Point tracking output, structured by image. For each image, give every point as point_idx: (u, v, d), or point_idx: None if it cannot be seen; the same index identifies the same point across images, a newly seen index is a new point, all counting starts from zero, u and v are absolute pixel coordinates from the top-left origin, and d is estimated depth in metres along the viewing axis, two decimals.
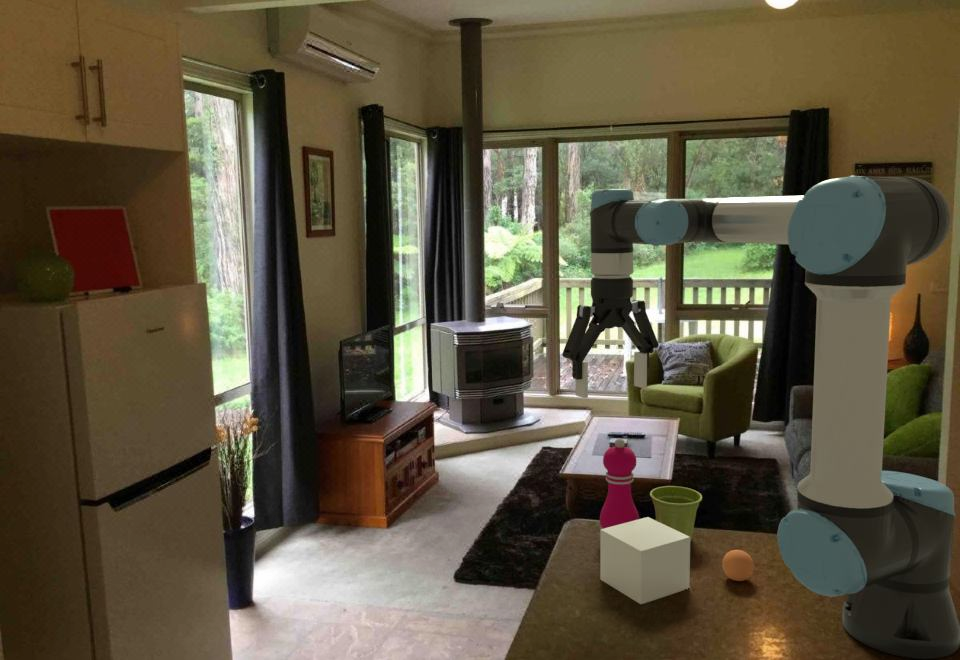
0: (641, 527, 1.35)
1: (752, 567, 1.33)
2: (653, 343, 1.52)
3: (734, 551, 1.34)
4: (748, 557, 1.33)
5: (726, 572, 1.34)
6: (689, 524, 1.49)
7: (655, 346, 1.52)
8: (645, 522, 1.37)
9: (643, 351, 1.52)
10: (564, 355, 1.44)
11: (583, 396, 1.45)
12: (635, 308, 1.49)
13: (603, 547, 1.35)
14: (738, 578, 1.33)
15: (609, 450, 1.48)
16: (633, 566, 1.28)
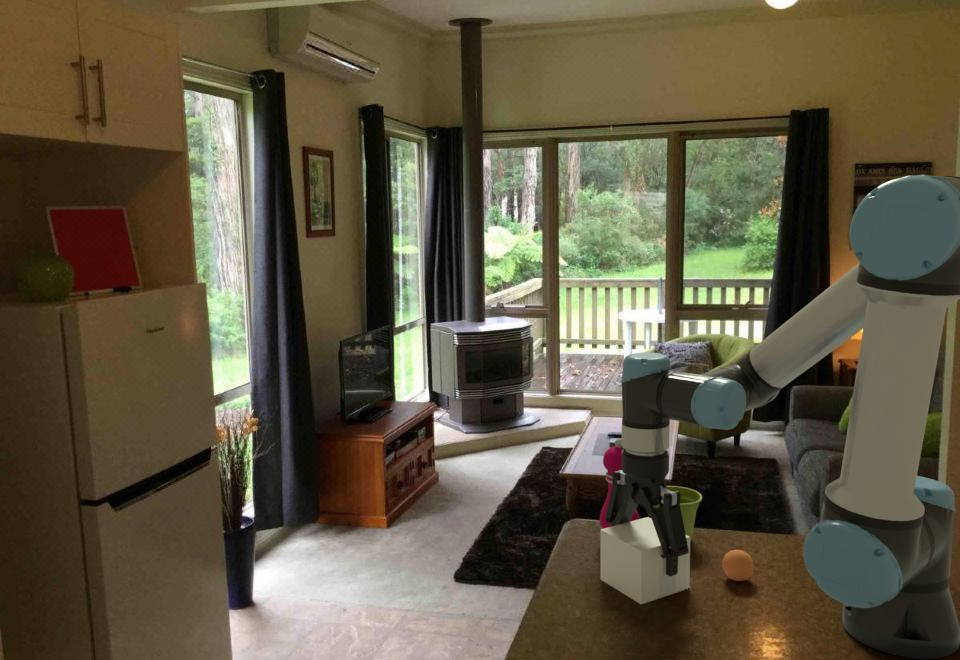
0: (641, 527, 1.35)
1: (752, 567, 1.33)
2: (671, 549, 1.26)
3: (734, 551, 1.34)
4: (748, 557, 1.33)
5: (726, 572, 1.34)
6: (689, 524, 1.49)
7: (673, 554, 1.26)
8: (645, 522, 1.37)
9: None
10: None
11: None
12: None
13: (603, 547, 1.35)
14: (738, 578, 1.33)
15: (609, 450, 1.48)
16: (633, 566, 1.28)
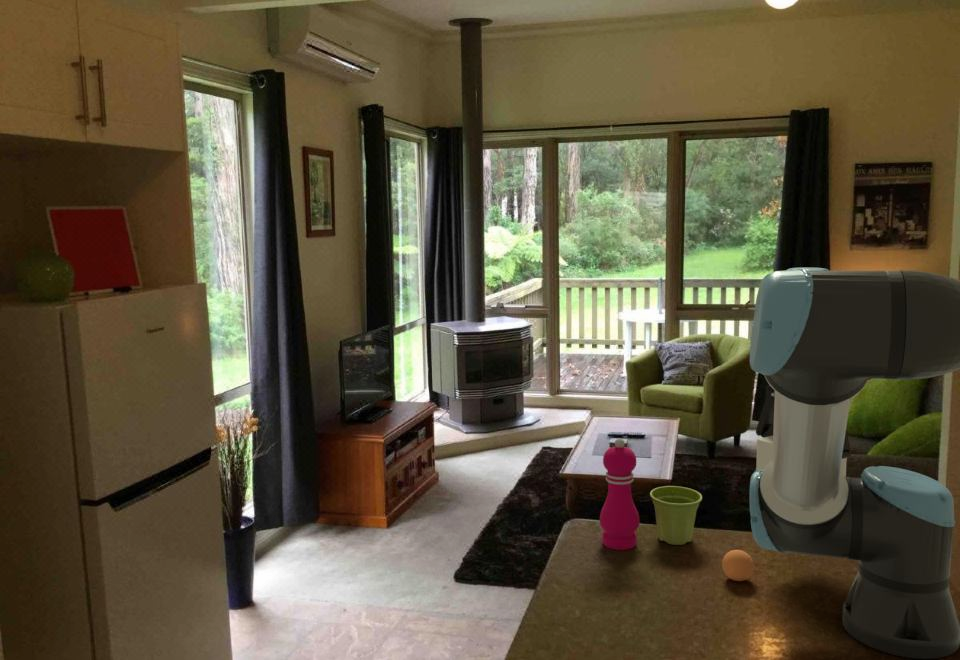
0: None
1: (752, 567, 1.33)
2: None
3: (734, 551, 1.34)
4: (748, 557, 1.33)
5: (726, 572, 1.34)
6: (689, 524, 1.49)
7: None
8: None
9: None
10: None
11: None
12: None
13: (759, 456, 1.41)
14: (738, 578, 1.33)
15: (609, 450, 1.48)
16: None
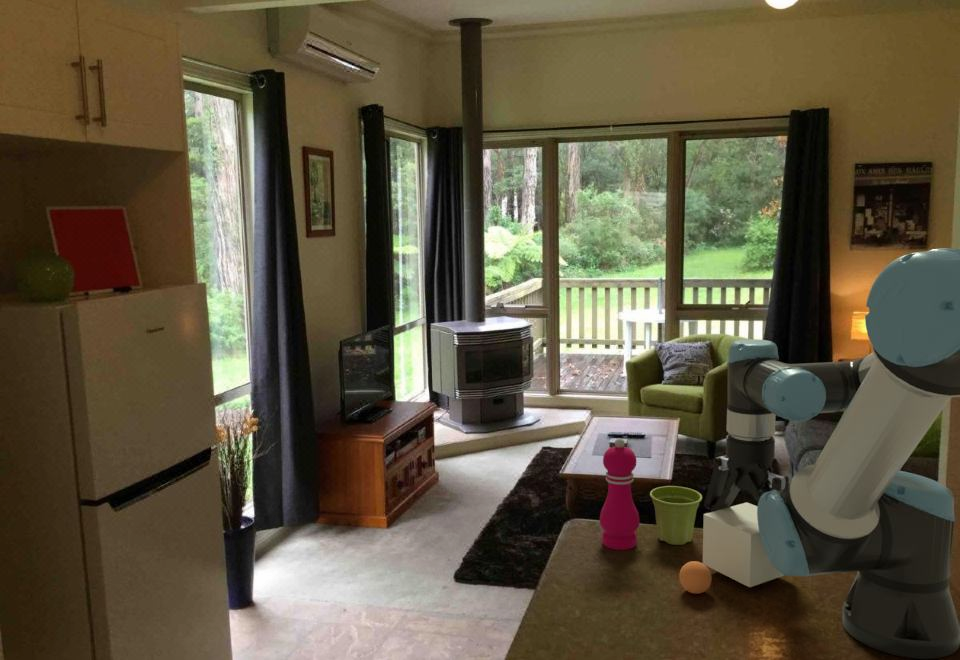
0: (743, 512, 1.37)
1: (700, 588, 1.28)
2: None
3: None
4: (701, 592, 1.30)
5: None
6: (689, 524, 1.49)
7: None
8: (746, 507, 1.39)
9: None
10: None
11: None
12: (772, 482, 1.29)
13: (706, 532, 1.36)
14: (705, 569, 1.29)
15: (609, 450, 1.48)
16: (741, 550, 1.30)
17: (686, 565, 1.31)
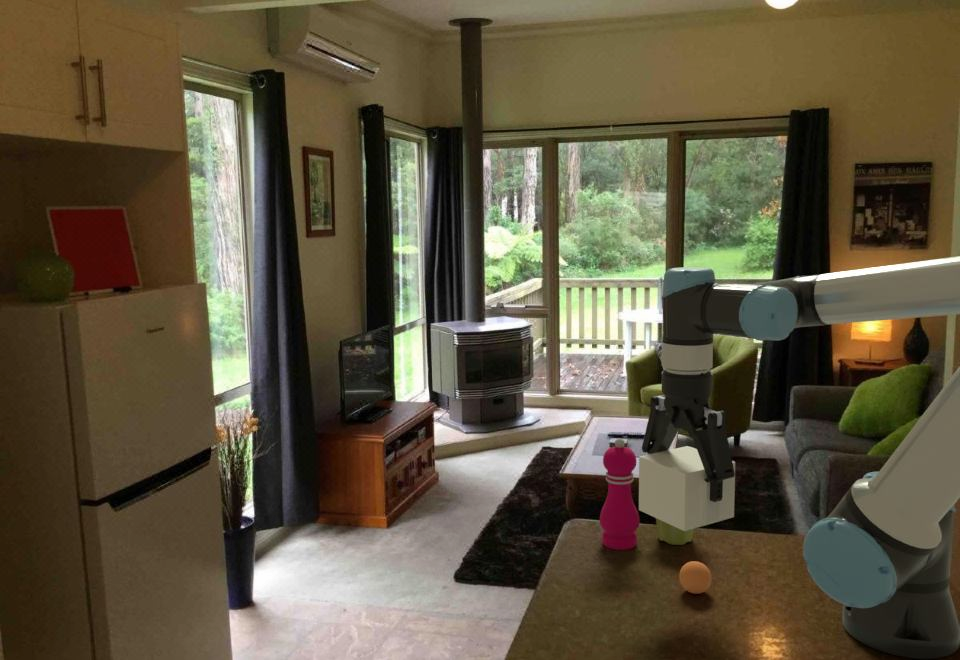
0: (682, 454, 1.28)
1: (700, 588, 1.28)
2: (716, 472, 1.19)
3: None
4: (701, 592, 1.30)
5: None
6: None
7: (718, 477, 1.18)
8: (685, 450, 1.30)
9: None
10: None
11: None
12: (708, 418, 1.20)
13: (642, 475, 1.28)
14: (705, 569, 1.29)
15: (609, 450, 1.48)
16: (676, 491, 1.21)
17: (686, 565, 1.31)
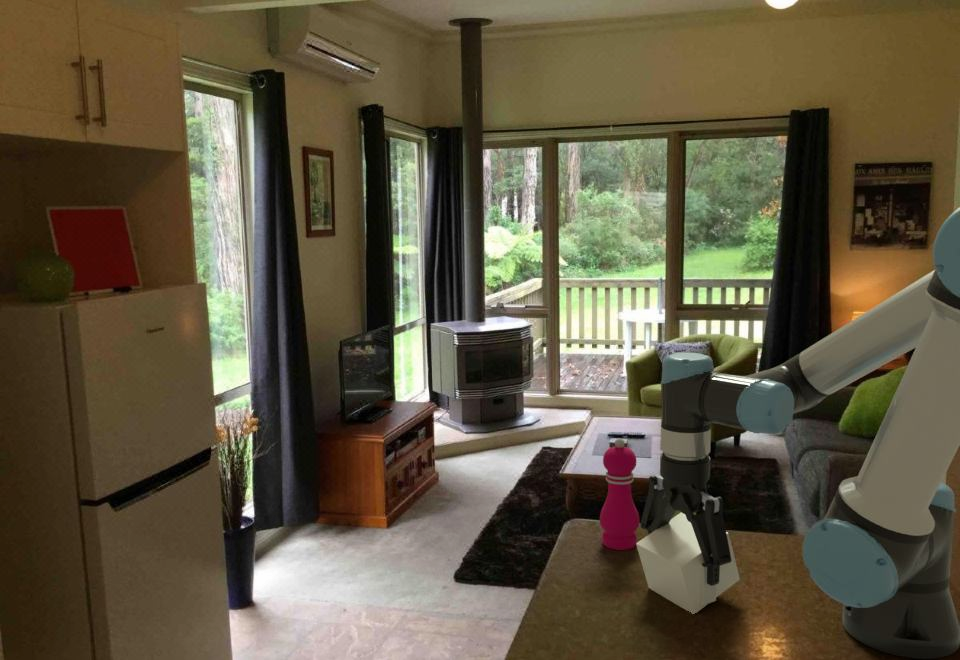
0: (677, 530, 1.30)
1: None
2: (713, 557, 1.21)
3: None
4: None
5: None
6: None
7: (715, 563, 1.21)
8: (680, 521, 1.32)
9: None
10: None
11: None
12: None
13: (643, 560, 1.30)
14: None
15: (609, 450, 1.48)
16: (677, 580, 1.24)
17: None
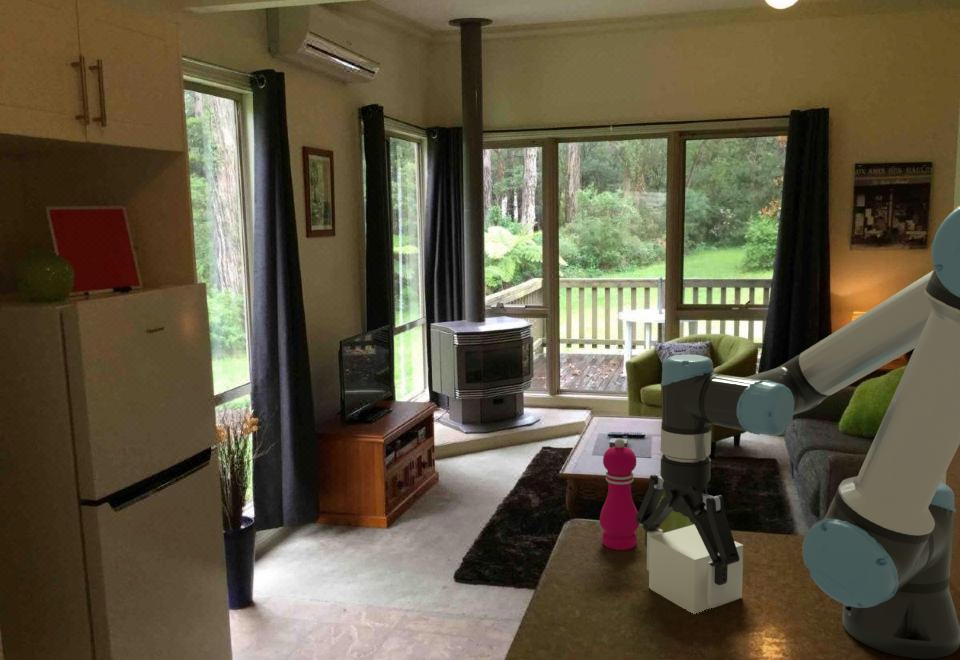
0: (691, 535, 1.32)
1: None
2: (721, 557, 1.19)
3: None
4: None
5: None
6: (689, 524, 1.49)
7: (723, 562, 1.19)
8: (694, 529, 1.34)
9: None
10: None
11: None
12: None
13: (652, 556, 1.31)
14: None
15: (609, 450, 1.48)
16: (686, 575, 1.25)
17: None
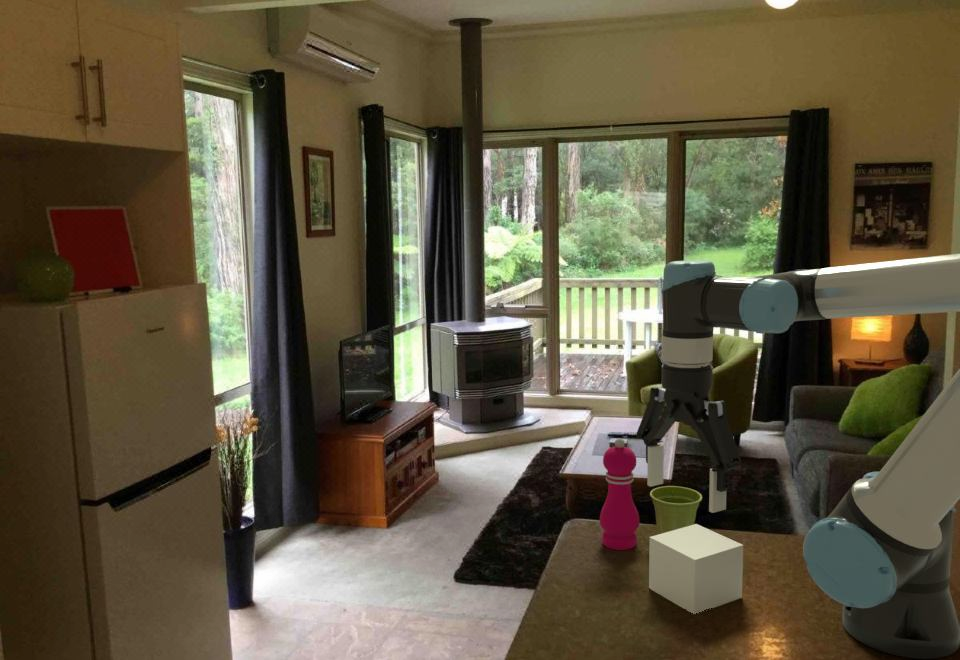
0: (691, 535, 1.32)
1: None
2: (723, 462, 1.17)
3: None
4: None
5: None
6: (689, 524, 1.49)
7: (725, 467, 1.17)
8: (694, 529, 1.34)
9: None
10: None
11: None
12: None
13: (652, 556, 1.31)
14: None
15: (609, 450, 1.48)
16: (686, 575, 1.25)
17: None
